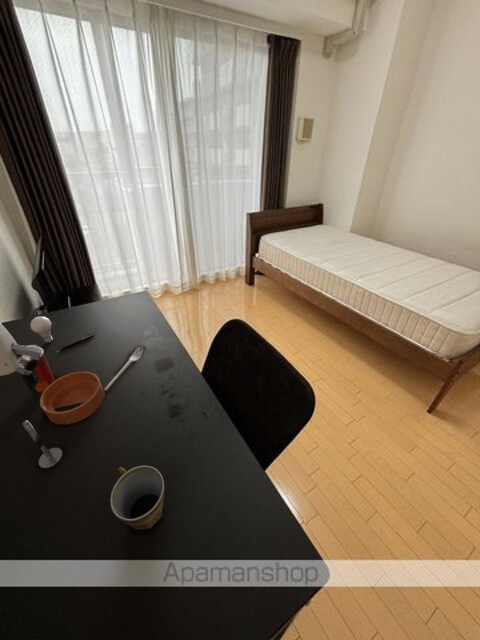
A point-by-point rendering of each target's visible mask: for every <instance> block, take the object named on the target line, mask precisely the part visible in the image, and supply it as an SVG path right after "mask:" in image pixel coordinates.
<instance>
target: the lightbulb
mask: <svg viewBox="0 0 480 640" xmlns="http://www.w3.org/2000/svg"><path fill="white" fill-rule="evenodd" d="M52 325H53V324H52V321H51V320H50V319H49V318H48V317H46V316H43V315H41V316H35V317H34V318H32V319H31V321H30V325H29V327H30V330H31V331H32V332H34V333H35V334H37V335H39V336H40V337H41V338H42V339H43V341H44V343H51V342H52V341H53V340H54V339H53V337H52V335H51V329H52Z"/></svg>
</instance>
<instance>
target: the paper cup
mask: <svg viewBox="0 0 480 640" xmlns="http://www.w3.org/2000/svg"><path fill="white" fill-rule="evenodd" d="M28 346H30V347H36V348H40V349H41V355H40V360H39V362H38V364H37V366H36V367H35V370H36V372H37V374H38V375H39V377H40V381H39V383H38V384H37V387H36V389H35V390H34V391H36V392H38V393H43V392H44V391H45V389H46V388H47V387H48V386H49V385H50V384H51V383H53V382H54V381H55V380H56V379H55V377H54V374H53V371H52V370H51V367H50V365H49V362H48V361H47V358H46V356H45V354H44V349H43V348H42V347H40V346H38V345H37V344H28ZM23 357H24V358H27V359H29V360H31V357H30V356H26V355H23ZM18 365H20V366H23V367H25V365H23V364H20V363H19V364H18Z"/></svg>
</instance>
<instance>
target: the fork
mask: <svg viewBox="0 0 480 640" xmlns="http://www.w3.org/2000/svg"><path fill="white" fill-rule="evenodd" d="M143 352H144V346H143V347H142V346H137V347H136V349H135V350H134V351H133V353H132V354H131V356H130V357H129V359H128V361H127V362H126V363H125V364H124V366H123V367H122V368H121V369H120V370H119V371H118V372H117V373H116V375H115V376H114V377H113V378H112V379H111V380H110V382H109V383H108V384H107V385H106V387H105V388H103V390H104V392H107V391H108V390H109V389H110V387H111V386H112V385H113V384H114V383H115V382H116V381H117V379H119V377H121V375H122V374H123V373H124V371H125V370H127V368H128V367H129V366H130V365H131V364H132V362H133V363H134V362H138V361H139V360H140V359H141V356H142V354H143Z"/></svg>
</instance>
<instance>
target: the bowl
mask: <svg viewBox="0 0 480 640" xmlns="http://www.w3.org/2000/svg"><path fill="white" fill-rule="evenodd" d="M105 392H106V391H104V388H103V385H102V382H101V380H100V378H99V377H98V375H96V374H95V373H94V372H90V371H75V372H70V373H68V374H65V375H62V376H60V377H59V378H56V379H55V381H54V382H53V383H51V384H50V385H49V386H48V387H47V388H46V389H45V391H44V392H41V395H40V398H39V406H40V408H41V410H42V411H43V413H44V415H45V416H46V417H47V419H48V420H49V421H50V422H52V423H54V424H56V425H69V424H70V425H71V424H75V423H78V422H80V421H82V420H85V419H87V418H88V417H89V416H91V415H92V414H93V413H95V412H96V411H97V410H98V409H99V408H100V406H101V405H102V403H103V401H104V400H105V397H106V393H105ZM77 404H81V405H79V406H75V407H73V408H72V409H71V408H70V409H68V410H64V411H56V410H55V409H58V408H63V407H67V406H72V405H77Z"/></svg>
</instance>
